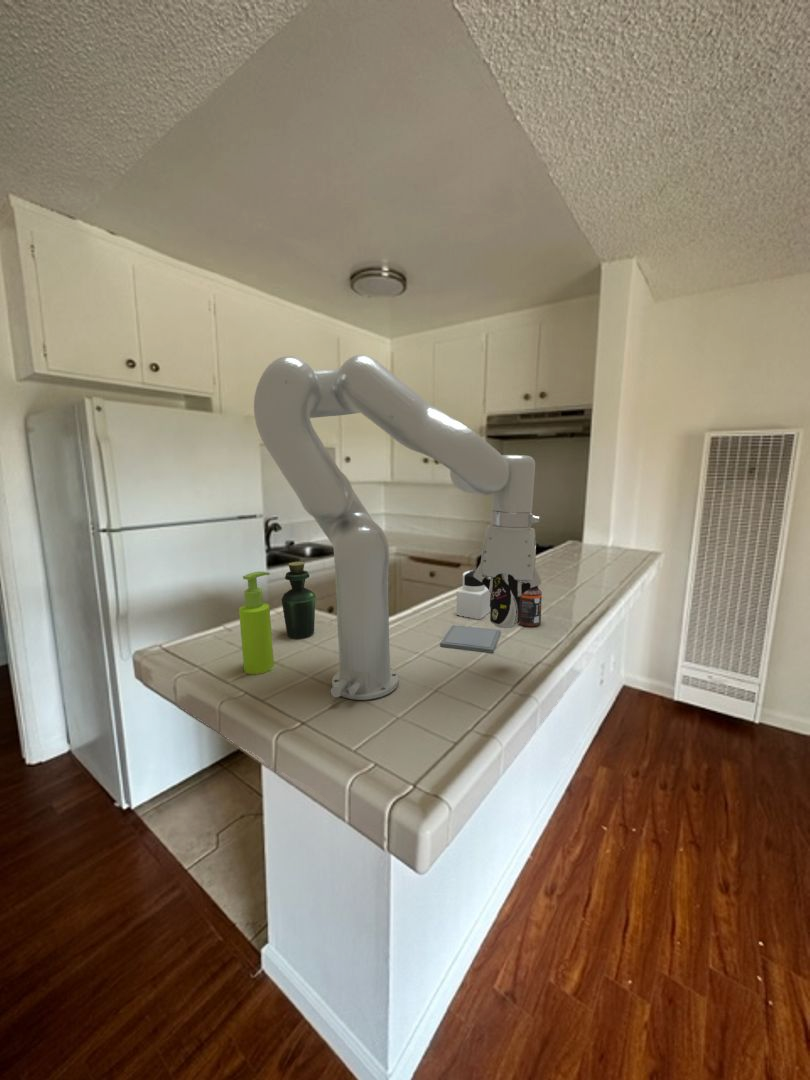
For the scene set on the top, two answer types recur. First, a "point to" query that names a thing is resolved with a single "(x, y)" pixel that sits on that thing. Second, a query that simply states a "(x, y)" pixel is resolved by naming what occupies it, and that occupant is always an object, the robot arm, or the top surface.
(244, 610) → the soap dispenser
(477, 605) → the medicine bottle
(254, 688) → the top surface
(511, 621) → the beverage can
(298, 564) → the potion bottle
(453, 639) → the plate
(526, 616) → the supplement bottle
